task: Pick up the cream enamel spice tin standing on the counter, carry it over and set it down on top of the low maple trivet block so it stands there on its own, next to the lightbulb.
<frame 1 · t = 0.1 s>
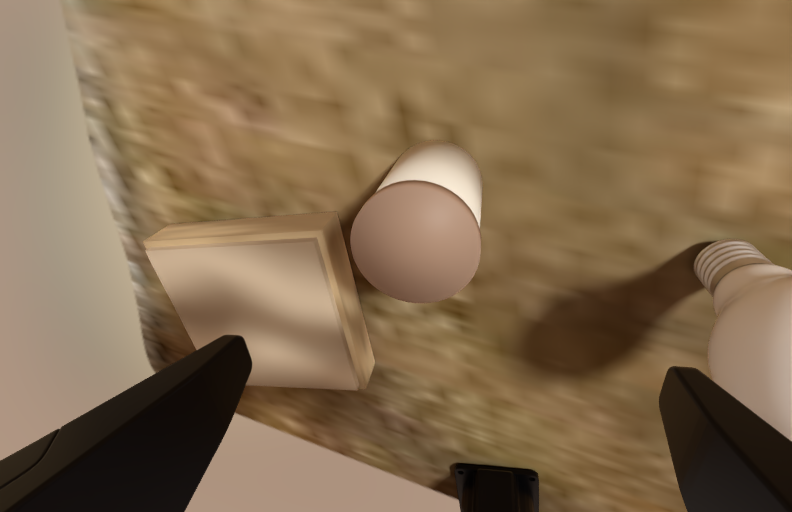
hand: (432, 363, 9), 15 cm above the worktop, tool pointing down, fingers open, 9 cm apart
trivet block: (277, 296, 29), on the worktop
spice tin: (435, 186, 22), on the worktop
lightbulb: (716, 254, 21), on the worktop
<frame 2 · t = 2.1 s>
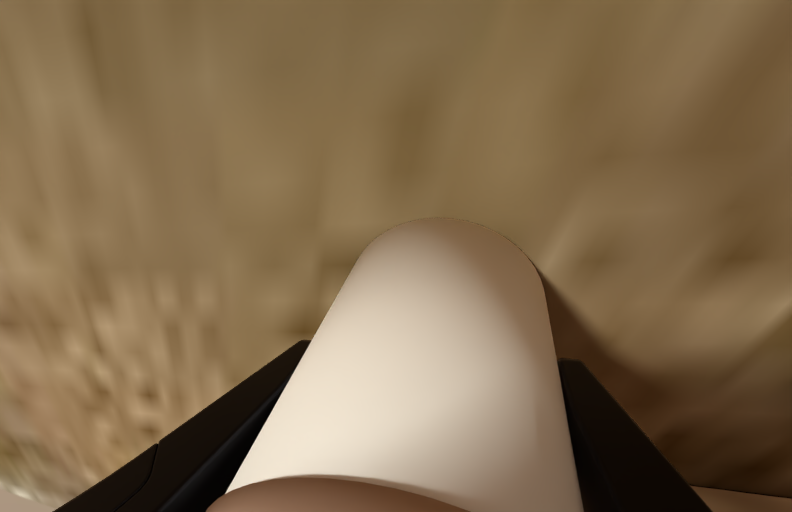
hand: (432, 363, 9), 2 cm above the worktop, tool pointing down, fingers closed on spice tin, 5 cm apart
spice tin: (442, 306, 11), on the worktop, touching gripper
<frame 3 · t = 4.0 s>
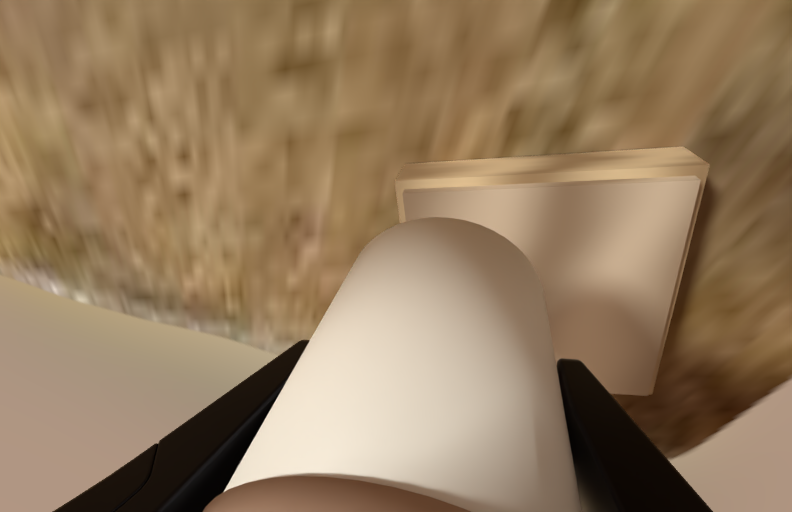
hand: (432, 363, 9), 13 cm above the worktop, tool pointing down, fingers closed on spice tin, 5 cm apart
trivet block: (529, 268, 21), on the worktop
spice tin: (441, 306, 11), point 11 cm above the worktop, touching gripper
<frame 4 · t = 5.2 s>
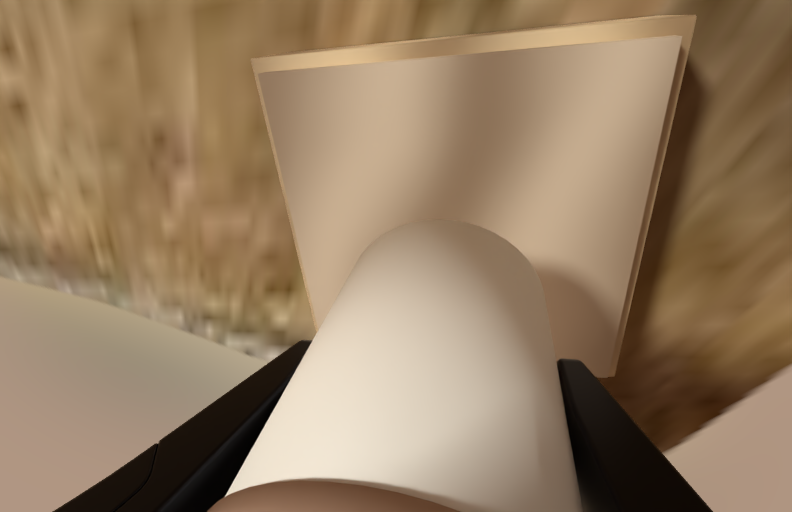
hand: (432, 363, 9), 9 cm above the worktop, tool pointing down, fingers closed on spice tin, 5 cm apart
trivet block: (458, 207, 16), on the worktop
spice tin: (442, 307, 11), point 7 cm above the worktop, touching gripper
when the fingers open (6 cm above the worktop, at t = 6.1 s): spice tin stays where it is, resting on trivet block.
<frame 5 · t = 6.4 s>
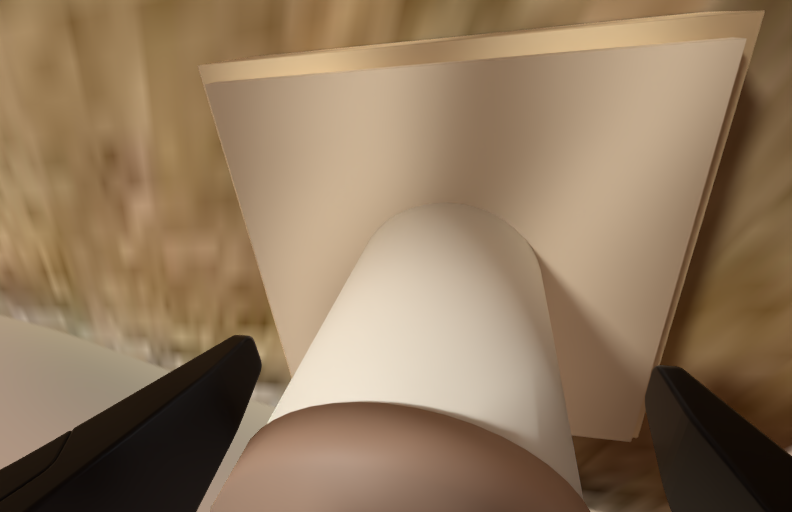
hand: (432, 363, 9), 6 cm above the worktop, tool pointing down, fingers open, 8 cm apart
trivet block: (454, 237, 14), on the worktop
spice tin: (446, 286, 11), point 3 cm above the worktop, touching trivet block
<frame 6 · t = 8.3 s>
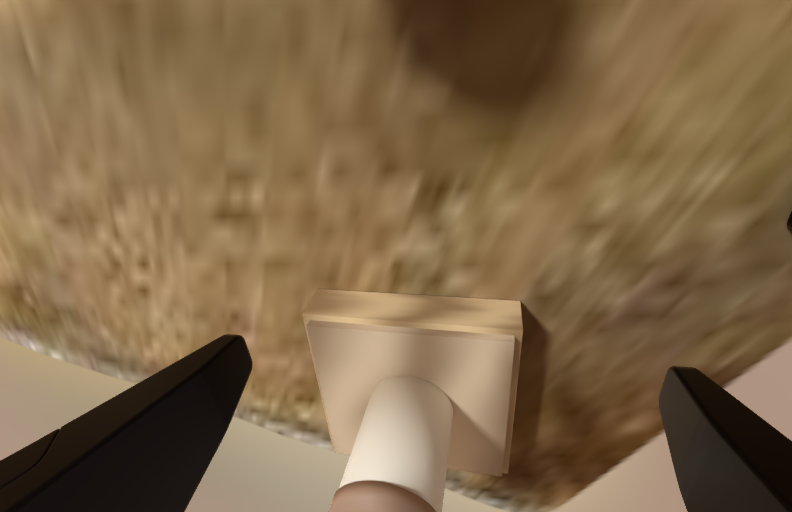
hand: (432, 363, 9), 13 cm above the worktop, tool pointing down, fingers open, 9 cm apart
trivet block: (418, 369, 27), on the worktop
spice tin: (411, 406, 24), point 3 cm above the worktop, touching trivet block
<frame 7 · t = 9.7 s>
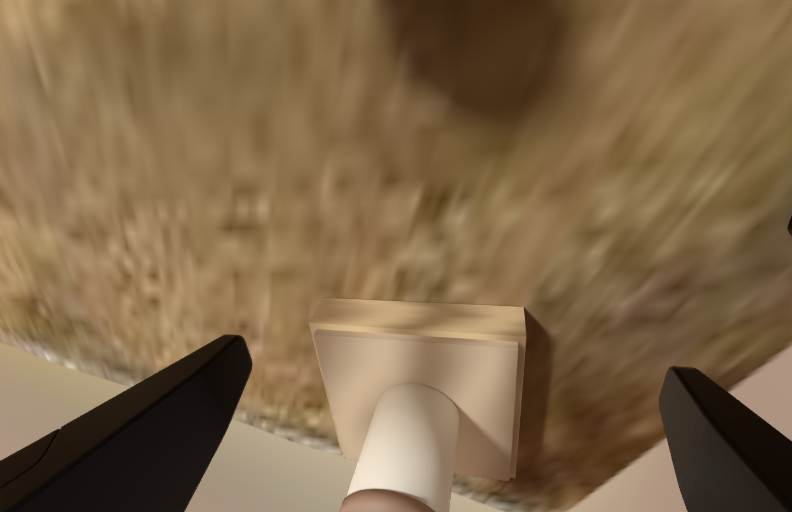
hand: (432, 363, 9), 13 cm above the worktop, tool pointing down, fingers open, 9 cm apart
trivet block: (424, 375, 27), on the worktop
spice tin: (417, 413, 25), point 3 cm above the worktop, touching trivet block
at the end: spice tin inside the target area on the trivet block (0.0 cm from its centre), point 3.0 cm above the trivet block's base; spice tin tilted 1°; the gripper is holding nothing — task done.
